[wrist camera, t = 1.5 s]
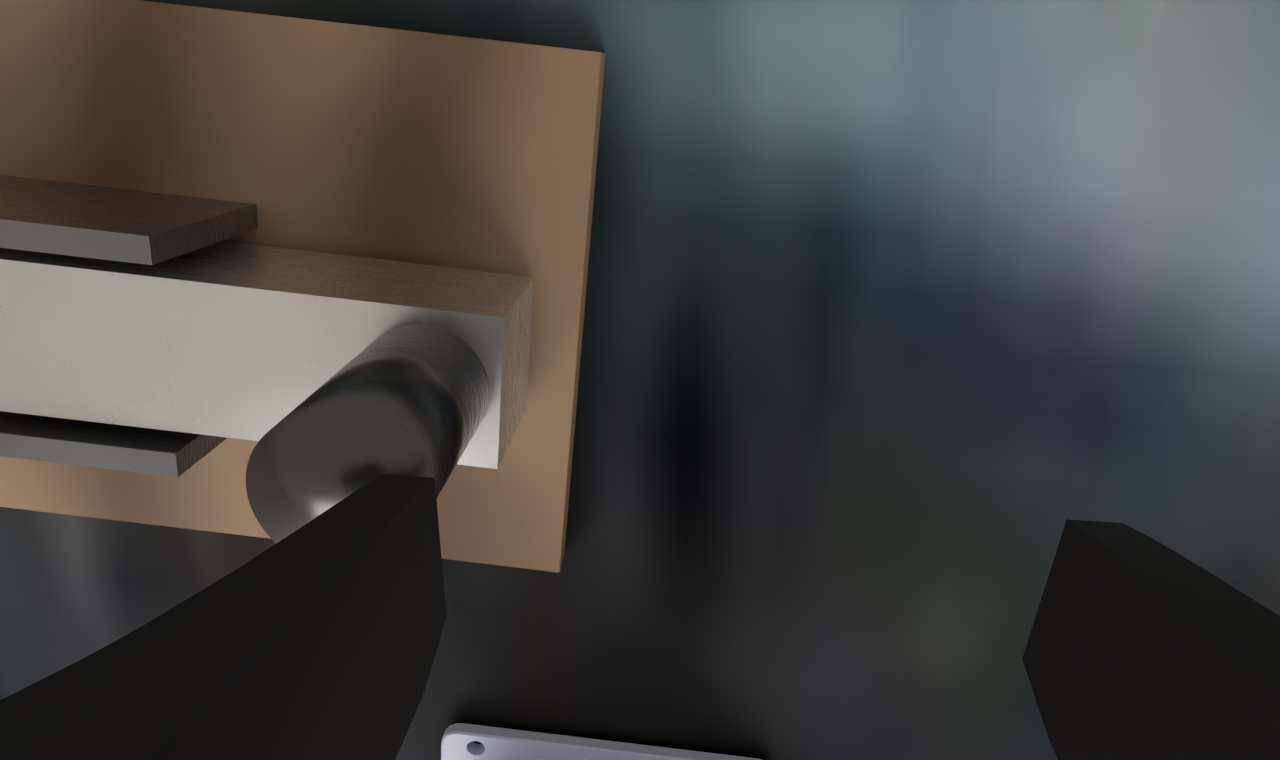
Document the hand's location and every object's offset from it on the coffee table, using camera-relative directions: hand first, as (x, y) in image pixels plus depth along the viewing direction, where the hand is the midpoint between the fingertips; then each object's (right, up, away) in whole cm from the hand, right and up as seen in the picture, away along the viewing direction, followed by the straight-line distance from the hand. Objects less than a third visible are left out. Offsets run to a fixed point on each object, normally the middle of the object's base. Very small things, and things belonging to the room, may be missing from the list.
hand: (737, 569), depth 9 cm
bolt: (-9, +4, +8) cm, 13 cm away
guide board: (-12, +5, +9) cm, 16 cm away
